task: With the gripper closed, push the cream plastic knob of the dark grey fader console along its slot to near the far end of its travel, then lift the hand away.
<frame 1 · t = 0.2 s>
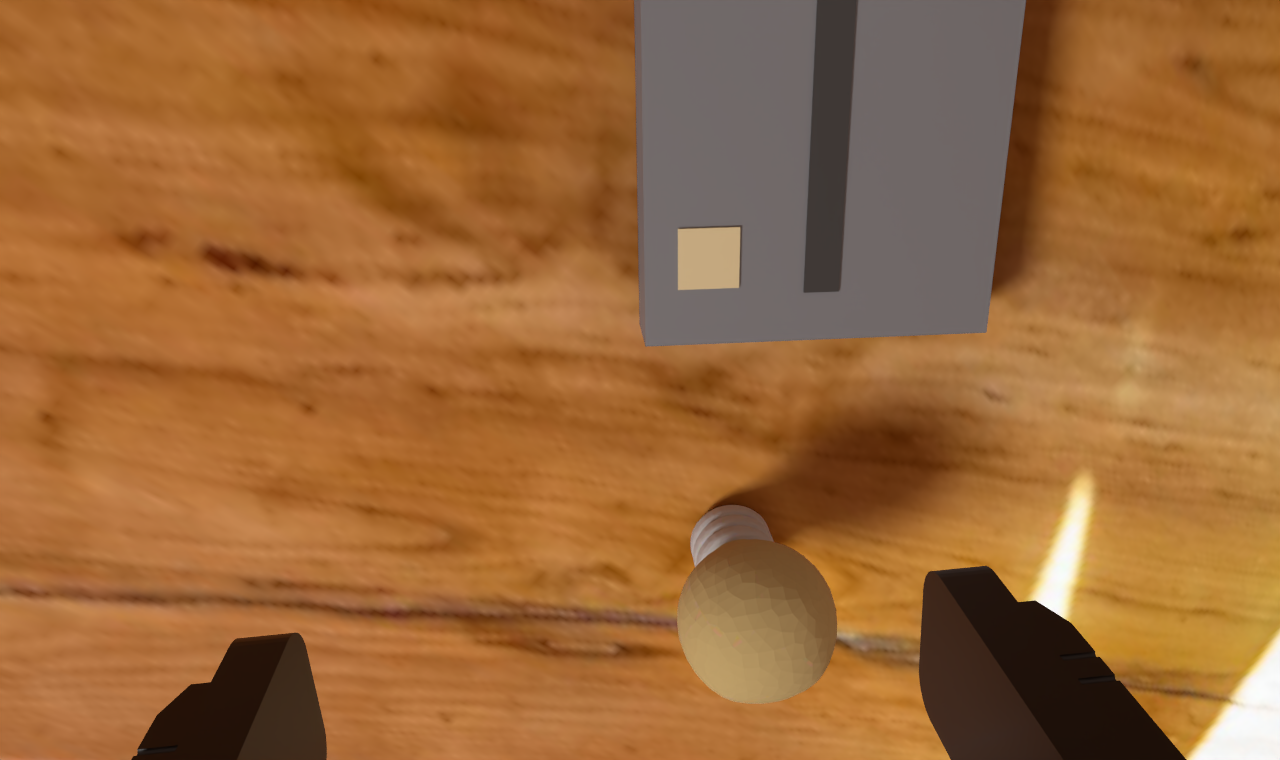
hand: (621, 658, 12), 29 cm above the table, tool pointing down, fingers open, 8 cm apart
fader console: (812, 62, 37), on the table
light bulb: (727, 531, 45), on the table
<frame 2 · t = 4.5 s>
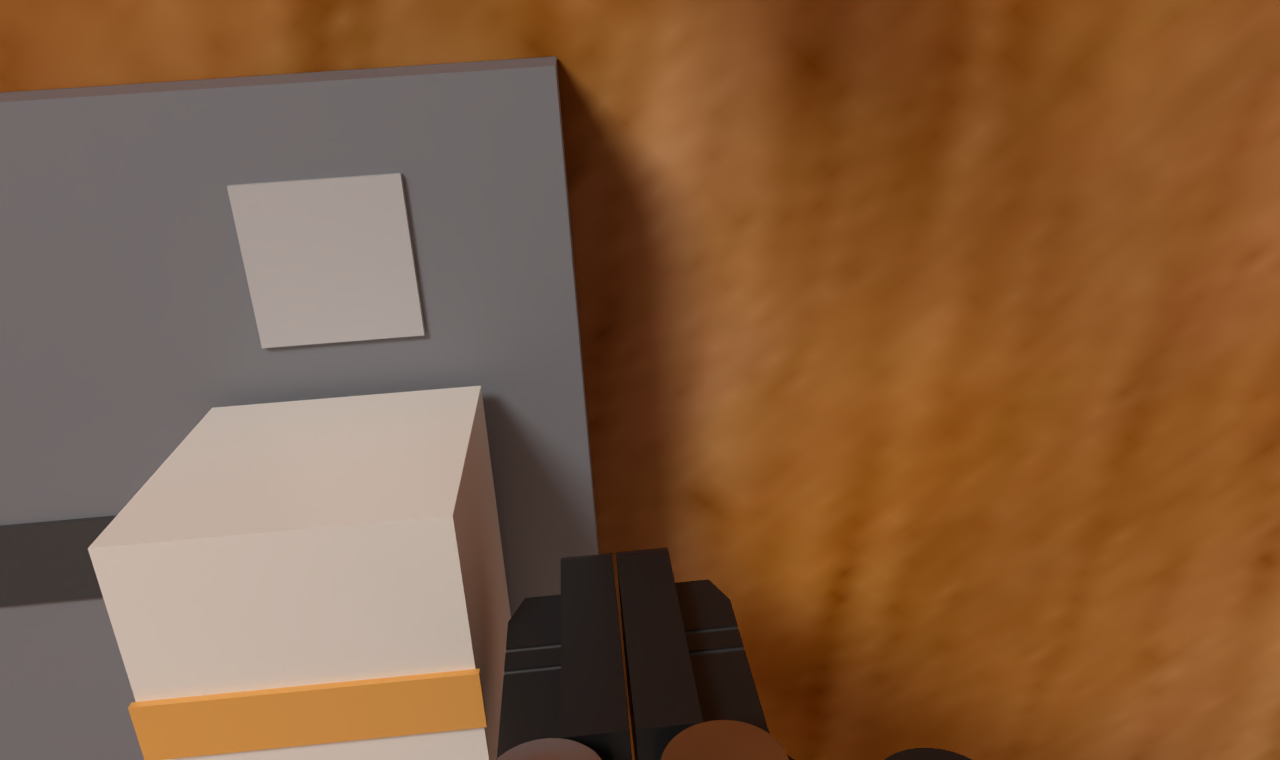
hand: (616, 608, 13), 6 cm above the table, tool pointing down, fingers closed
fader console: (33, 483, 18), on the table
fader knob: (347, 616, 13), point 5 cm above the table, slide at 0.0 cm, touching gripper
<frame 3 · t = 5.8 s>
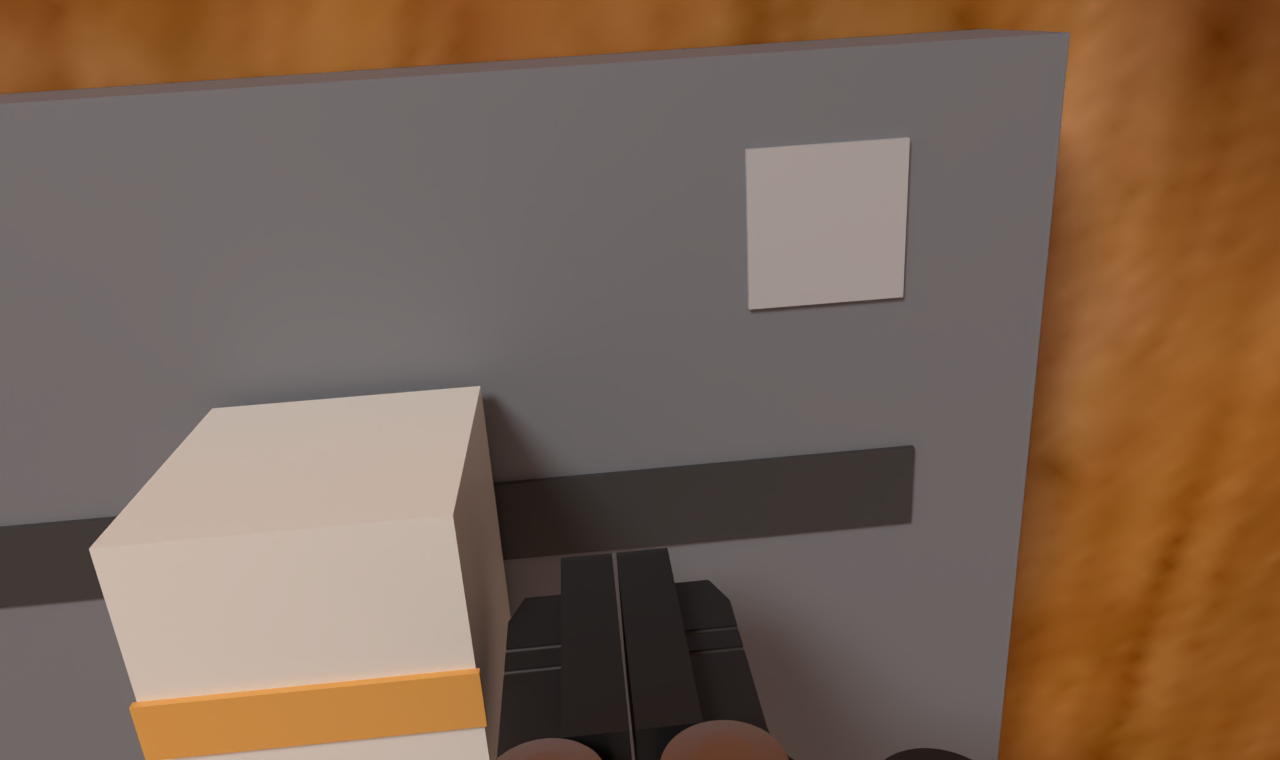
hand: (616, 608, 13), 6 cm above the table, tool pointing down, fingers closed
fader console: (424, 450, 18), on the table
fader knob: (347, 616, 13), point 5 cm above the table, slide at 7.4 cm, touching gripper
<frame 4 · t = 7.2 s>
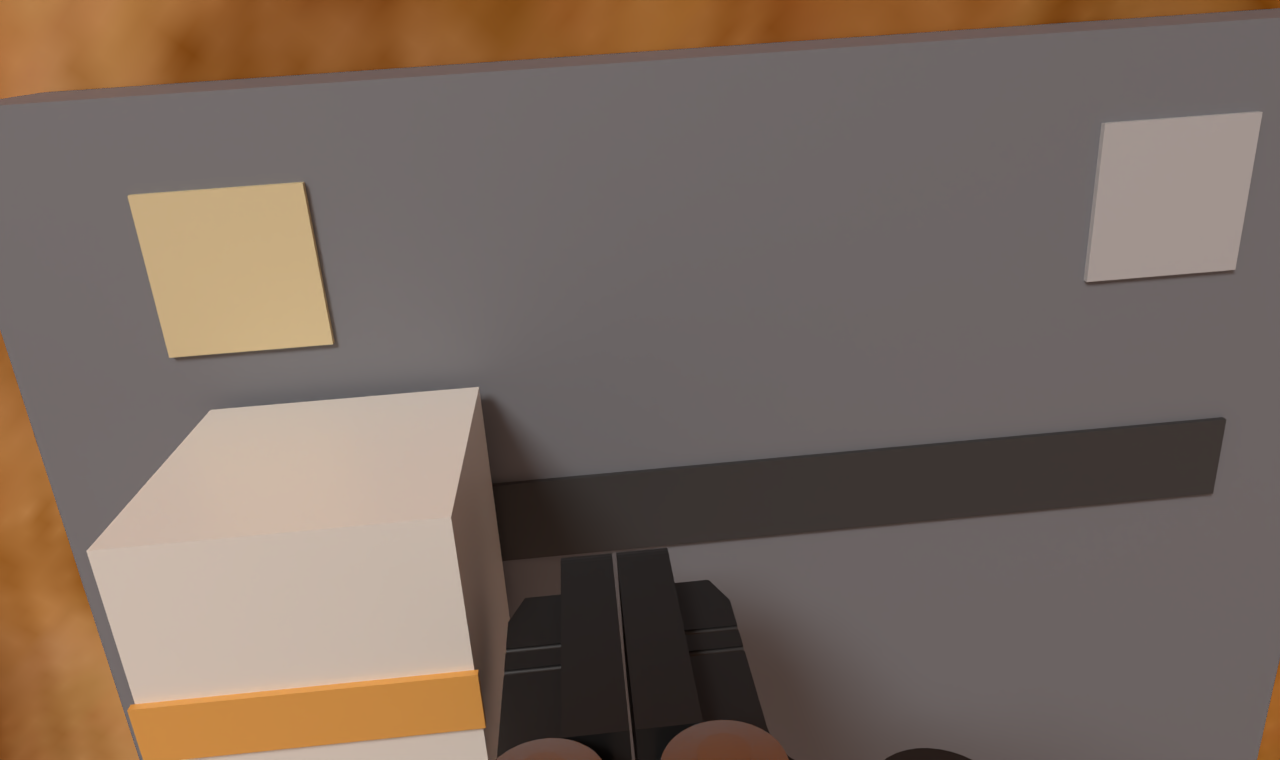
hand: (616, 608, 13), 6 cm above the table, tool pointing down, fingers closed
fader console: (698, 427, 19), on the table
fader knob: (346, 618, 13), point 5 cm above the table, slide at 12.7 cm, touching gripper
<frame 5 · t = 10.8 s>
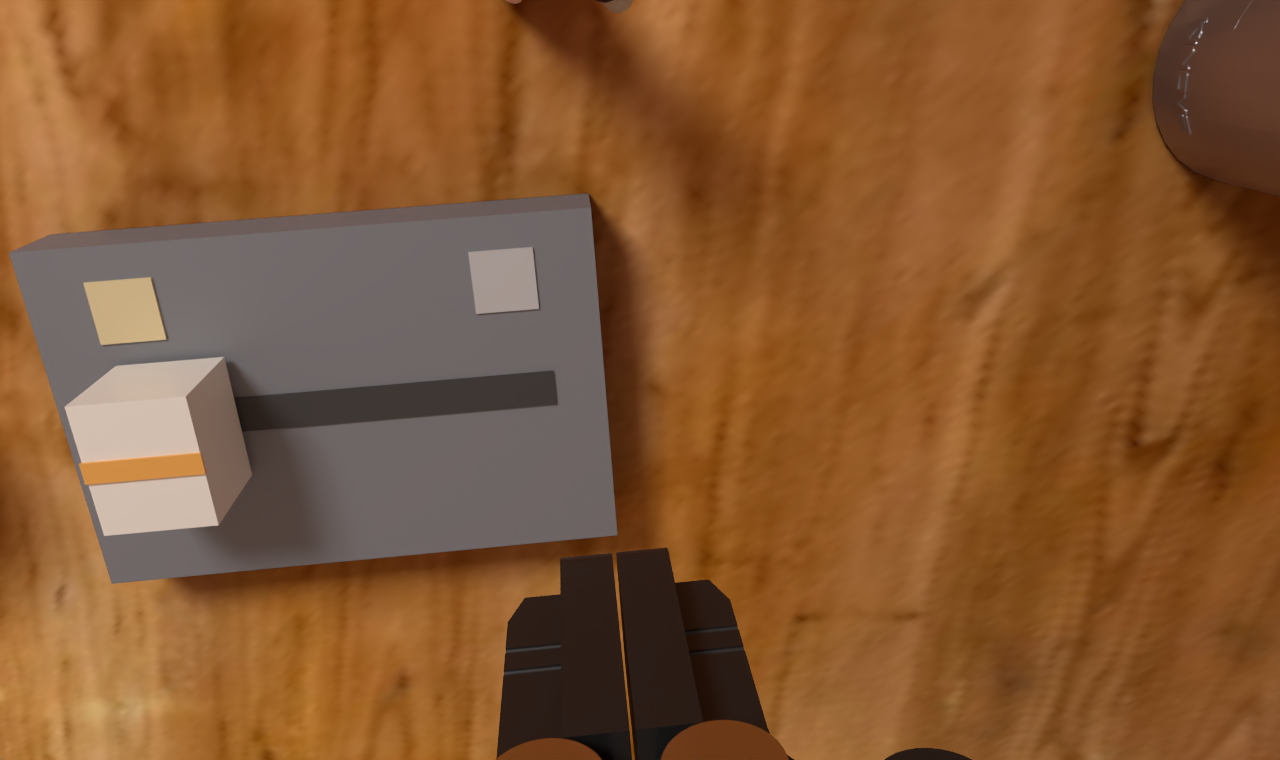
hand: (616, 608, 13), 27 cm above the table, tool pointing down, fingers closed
fader console: (353, 378, 40), on the table
fader knob: (165, 444, 35), point 5 cm above the table, slide at 12.8 cm
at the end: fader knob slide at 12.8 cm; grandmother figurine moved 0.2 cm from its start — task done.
